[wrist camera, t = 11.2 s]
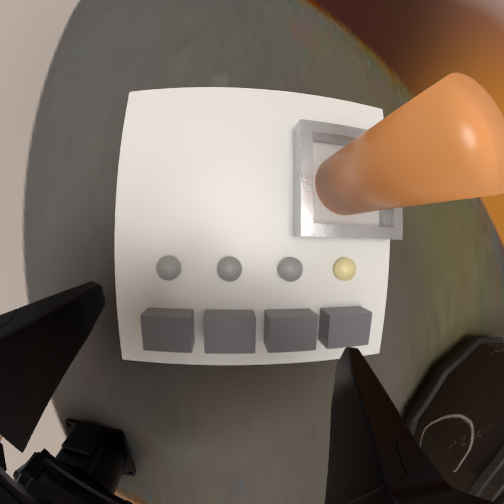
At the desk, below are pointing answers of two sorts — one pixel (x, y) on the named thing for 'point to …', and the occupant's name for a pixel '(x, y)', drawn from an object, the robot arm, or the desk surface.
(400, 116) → the plug
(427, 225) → the desk surface
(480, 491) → the black drum container
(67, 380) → the desk surface
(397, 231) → the socket collar
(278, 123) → the breaker panel
